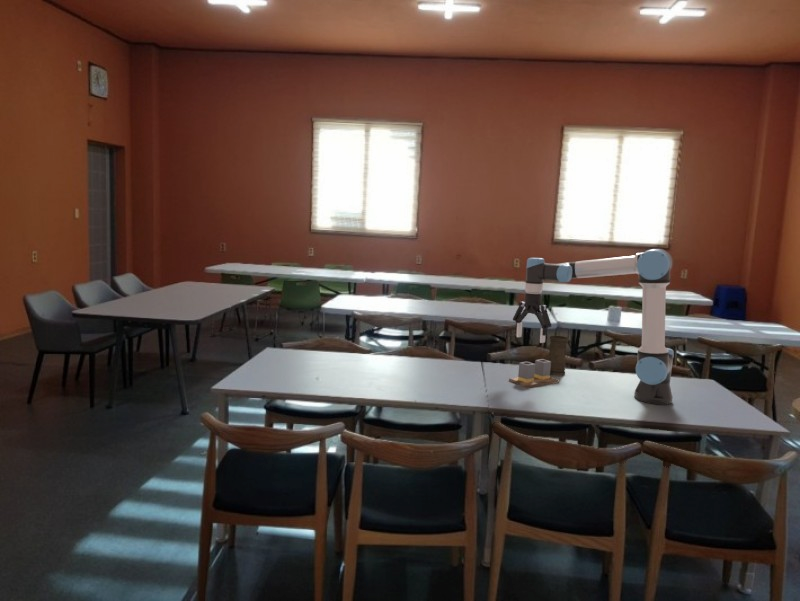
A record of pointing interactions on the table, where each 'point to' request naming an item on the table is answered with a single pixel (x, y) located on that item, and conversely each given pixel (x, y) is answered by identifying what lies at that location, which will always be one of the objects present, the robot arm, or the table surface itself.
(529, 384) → the pin board
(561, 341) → the container
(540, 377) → the sleeve
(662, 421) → the table surface
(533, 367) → the sleeve
